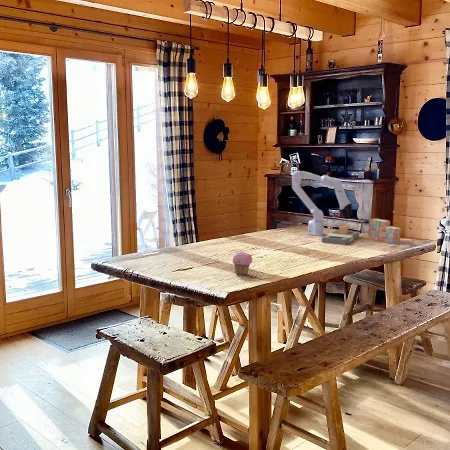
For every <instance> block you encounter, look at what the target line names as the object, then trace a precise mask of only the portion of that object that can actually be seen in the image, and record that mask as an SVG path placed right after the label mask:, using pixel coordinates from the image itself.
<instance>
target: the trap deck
mask: <svg viewBox="0 0 450 450" xmlns="http://www.w3.org/2000/svg"><path fill="white" fill-rule="evenodd" d="M358 238H360V231H353V230H352V231H351V230H348V234H339V229H337V230H335V231H333V232H329V234H325V236H324V235H323V236H322V237H321V243H324V244H332V245H333V244H335V245H343V246H346V245H348V244H349V243H351V242H353V241H354V240H356V239H358Z"/></svg>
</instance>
